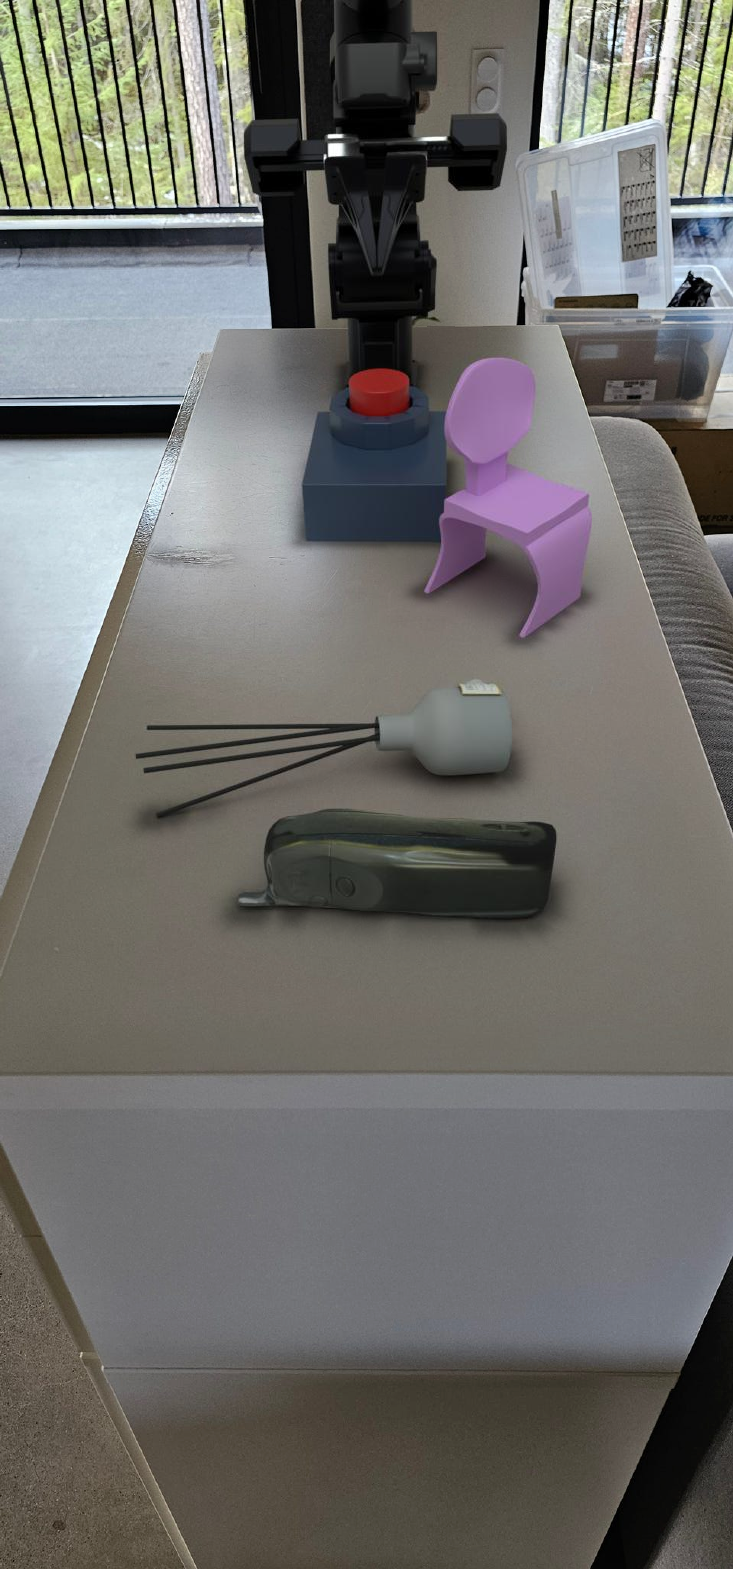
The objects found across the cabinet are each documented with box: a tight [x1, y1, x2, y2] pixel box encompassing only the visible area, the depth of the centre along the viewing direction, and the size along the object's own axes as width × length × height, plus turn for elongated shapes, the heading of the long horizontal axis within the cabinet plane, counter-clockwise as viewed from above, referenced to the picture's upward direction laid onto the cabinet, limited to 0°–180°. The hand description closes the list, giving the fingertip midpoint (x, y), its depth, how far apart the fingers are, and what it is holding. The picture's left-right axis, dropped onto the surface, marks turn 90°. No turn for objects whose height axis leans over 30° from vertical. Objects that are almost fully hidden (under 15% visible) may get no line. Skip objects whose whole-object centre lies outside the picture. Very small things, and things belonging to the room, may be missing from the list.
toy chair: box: [423, 357, 593, 639], centre depth 68 cm, size 8×9×15 cm
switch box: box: [301, 386, 448, 543], centre depth 81 cm, size 13×10×6 cm
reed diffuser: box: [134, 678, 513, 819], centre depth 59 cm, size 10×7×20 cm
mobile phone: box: [237, 808, 557, 920], centre depth 52 cm, size 5×3×15 cm
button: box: [349, 369, 409, 417], centre depth 81 cm, size 4×4×2 cm
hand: (377, 273), depth 81 cm, fingers closed
